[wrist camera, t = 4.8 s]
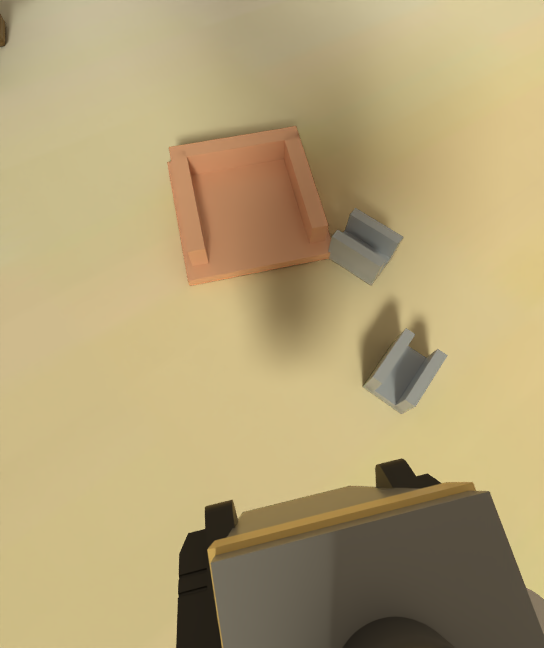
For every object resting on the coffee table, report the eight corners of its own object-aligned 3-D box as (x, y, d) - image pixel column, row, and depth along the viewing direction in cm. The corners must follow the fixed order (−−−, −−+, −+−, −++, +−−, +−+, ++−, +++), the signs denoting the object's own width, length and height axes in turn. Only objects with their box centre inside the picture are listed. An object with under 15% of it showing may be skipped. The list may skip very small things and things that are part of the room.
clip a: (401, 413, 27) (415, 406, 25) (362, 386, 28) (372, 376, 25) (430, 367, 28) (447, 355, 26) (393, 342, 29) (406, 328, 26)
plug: (264, 648, 13) (275, 1354, 3) (239, 509, 15) (178, 584, 4) (387, 613, 14) (845, 1092, 3) (351, 482, 15) (570, 481, 4)
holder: (333, 257, 31) (339, 237, 29) (189, 285, 30) (182, 267, 28) (298, 147, 35) (300, 120, 33) (169, 169, 34) (161, 143, 32)
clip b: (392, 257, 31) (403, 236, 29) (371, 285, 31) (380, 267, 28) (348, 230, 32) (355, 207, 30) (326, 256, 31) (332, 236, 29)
